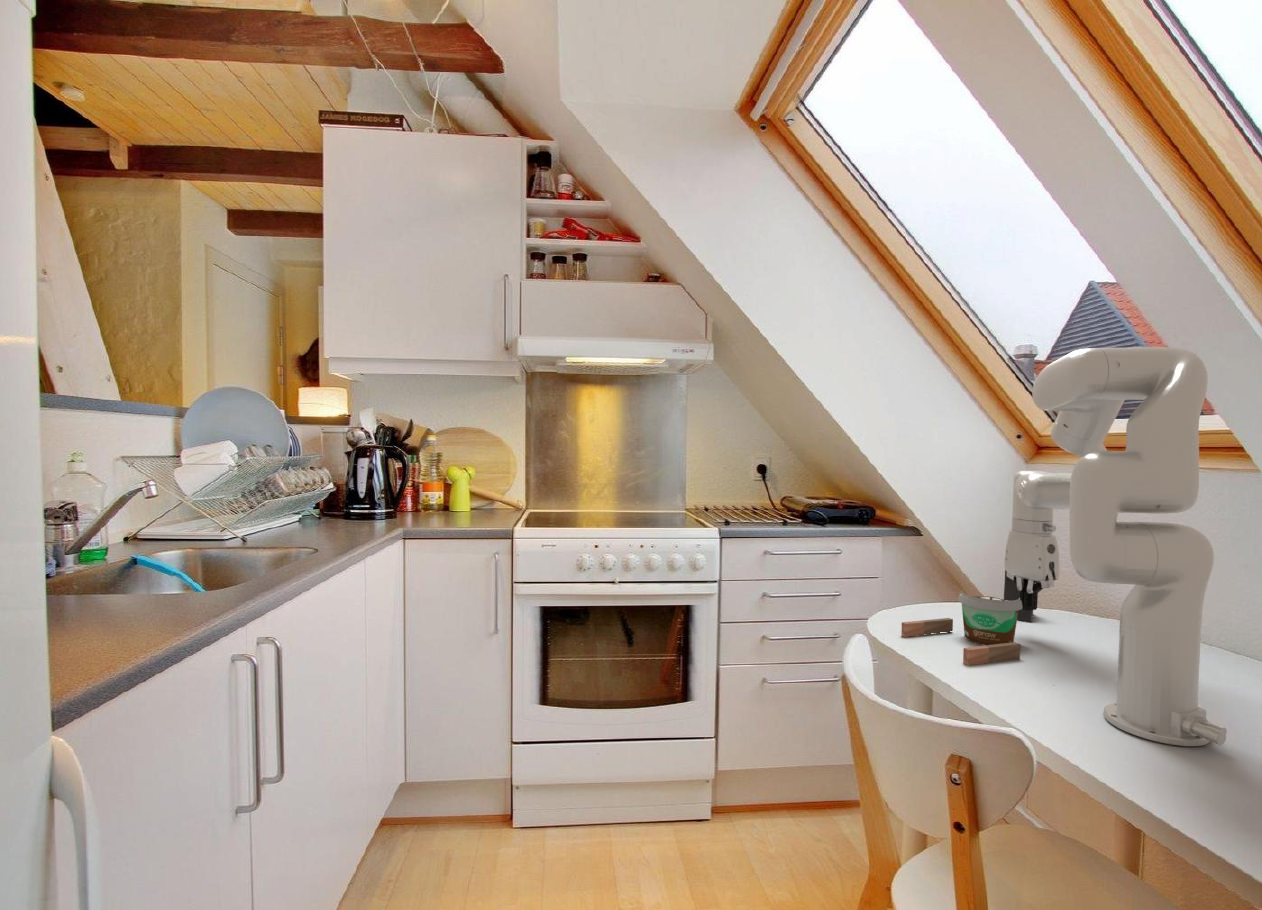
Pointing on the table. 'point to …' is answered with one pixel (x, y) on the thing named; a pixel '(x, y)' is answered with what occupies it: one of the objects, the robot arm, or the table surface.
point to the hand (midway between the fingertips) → (1028, 608)
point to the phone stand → (1015, 598)
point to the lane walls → (969, 654)
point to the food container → (989, 619)
